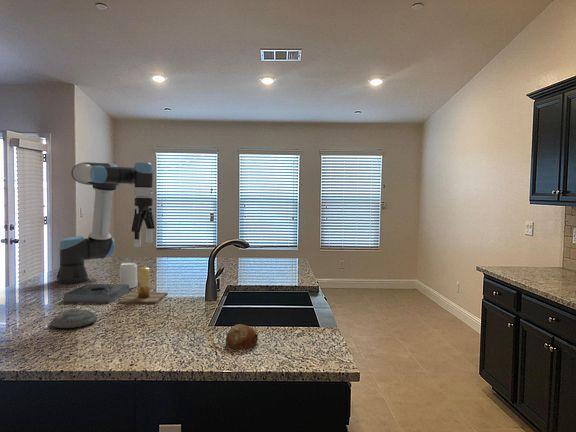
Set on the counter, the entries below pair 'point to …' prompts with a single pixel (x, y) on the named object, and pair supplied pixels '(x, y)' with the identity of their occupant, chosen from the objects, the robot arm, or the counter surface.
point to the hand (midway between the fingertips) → (143, 244)
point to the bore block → (96, 293)
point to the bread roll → (241, 337)
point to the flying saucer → (73, 319)
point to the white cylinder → (128, 274)
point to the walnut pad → (134, 299)
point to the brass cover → (143, 282)
